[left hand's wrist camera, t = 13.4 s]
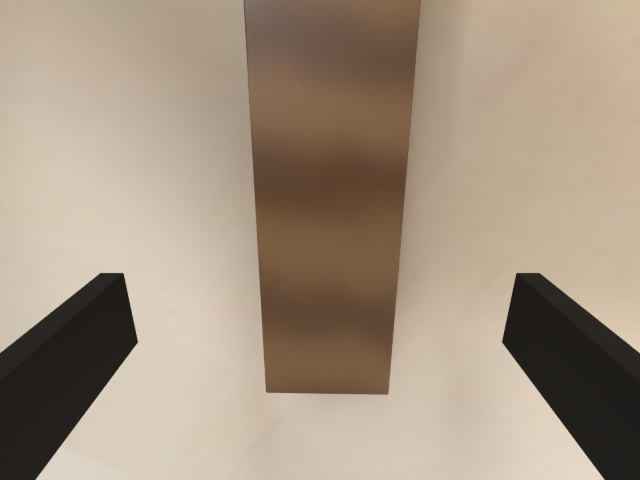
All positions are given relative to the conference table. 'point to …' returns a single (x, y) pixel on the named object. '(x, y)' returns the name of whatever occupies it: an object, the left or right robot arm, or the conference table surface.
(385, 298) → the bar
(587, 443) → the left robot arm
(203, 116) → the conference table surface
